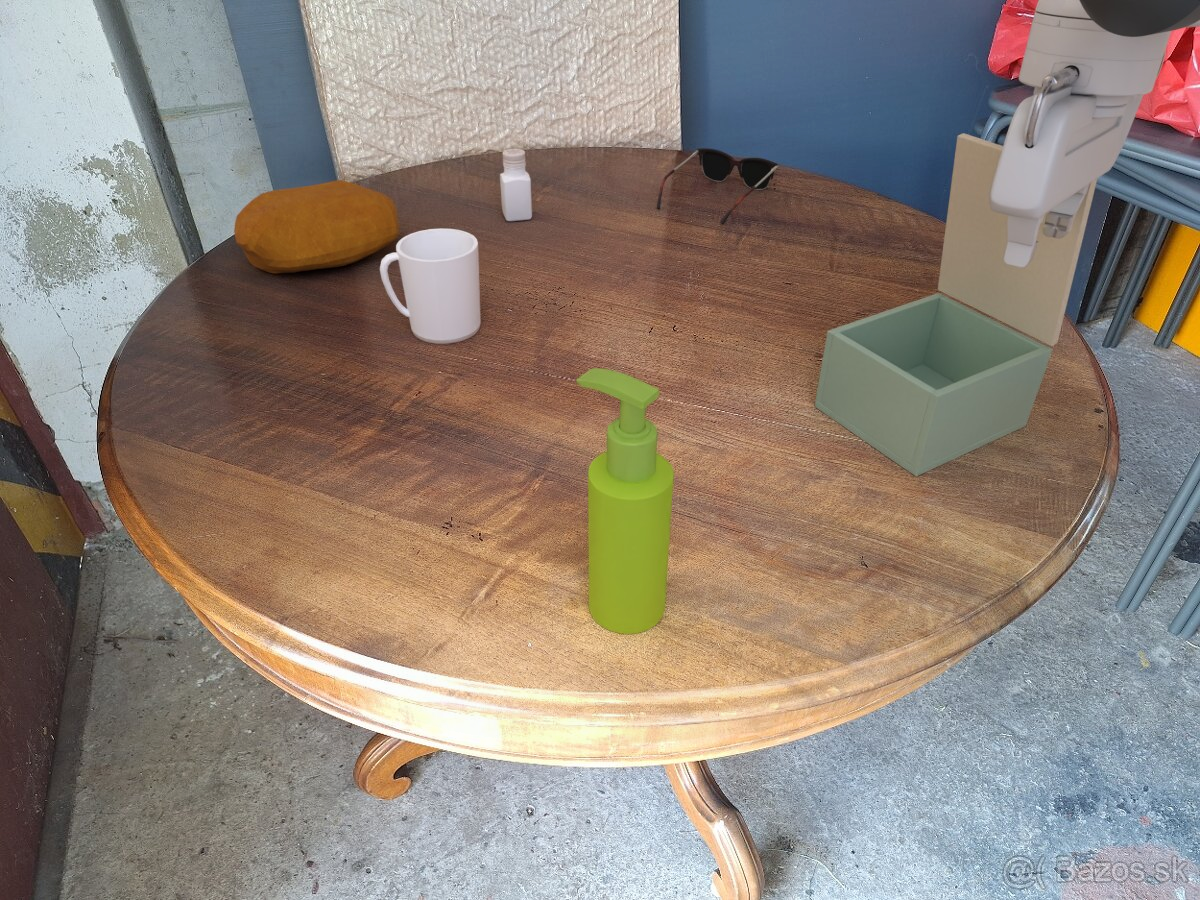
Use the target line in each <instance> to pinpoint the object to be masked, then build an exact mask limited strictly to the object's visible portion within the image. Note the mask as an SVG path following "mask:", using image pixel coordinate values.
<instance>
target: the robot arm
mask: <svg viewBox="0 0 1200 900" xmlns="http://www.w3.org/2000/svg"><path fill="white" fill-rule="evenodd" d="M1196 27H1200V0H1038V1H1037V4H1036V6H1035V11H1034V14H1033V18H1032V21H1031V25H1030V29H1029V33H1028V38H1027V42H1026V46H1025V51H1024V54H1023V59H1022V62H1021V67H1020V71H1019V73H1018V74H1019V75H1018V81H1019V82H1020V83H1022V84H1023V85H1025V86H1029V87H1032V88H1034V89H1033V93H1032V95H1031V96H1029V97H1026V98H1025V99H1023V100H1022V101H1021V102H1020V103H1019V104H1018V106H1017V108H1016V109H1015V111H1014V113H1013V116H1012V118H1011V121H1010V124H1009V126H1008V130H1007V132H1006V135H1005V139H1004V142H1003V145H1002V146H1003V148H1002V152H1001V155H1000V158H999V161H998V165H997V168H996V172H995V175H994V179H993V182H992V186H991V190H990V209H991V210H992V211H994V212H997V213H1001V214H1006V215H1008V219H1007V239H1008V242H1007V246H1006V250H1005V254H1004V262H1005V263H1006V264H1008V265H1013V266H1017V267H1025V266H1026V265H1027V264H1028V263H1030V262H1031V261H1032V260H1033V259H1034V256H1035V251H1036V249H1037V245H1038V241H1036V239H1037V234H1038V230H1039V225H1040V223H1042V221H1043V218H1044V215H1045V213H1047V212H1048V211H1050V212H1049V213H1048V214H1047V217H1046V220H1045V225H1044V227H1043V234H1044V235H1045V236H1048V237H1054V238H1058V239H1060V238H1062V237H1064V236H1066V235H1067V234H1068V233H1069V232H1070V230H1071V227H1072V224H1073V221H1074V217H1075V214H1076V213H1077V211H1078V209H1079V207H1080V205H1081V203H1082V201H1083V199H1084V197H1085V195H1086V193H1087V191H1088V187H1089V184H1090V183H1091V182H1093V181H1094V180H1096V179H1097V180H1098V179H1099V178H1100V177H1102V176H1103V175H1105V174H1107V173H1108V172H1109V171H1111V169H1112V168H1113V167H1114V165H1115V163H1116V162H1117V159H1118V157H1119V155H1120V154H1121V152H1122V150H1123V147H1124V145H1125V142H1126V140H1127V137H1128V135H1129V133H1130V131H1131V128H1132V125H1133V123H1134V120H1135V118H1136V116H1137V113H1138V110H1139V109H1140V105H1141V102H1142V100H1143V97H1144V95H1147V94H1150V93H1151V92H1152V91H1153V89H1154V87H1155V84H1156V80H1157V79H1158V76H1159V75H1160V73H1161V70H1162V67H1163V64H1164V61H1165V57H1166V49H1167V46H1168V43H1169V40H1170V37H1171V34H1172V31H1176V30H1177V31H1178V30H1180V29H1184V28H1196Z"/></svg>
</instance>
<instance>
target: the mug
mask: <svg viewBox="0 0 1200 900" xmlns="http://www.w3.org/2000/svg"><path fill="white" fill-rule="evenodd" d="M395 251H396V252H390V253H388V254H386V255H385V256H384V257H383V258H381V261H380V266H379V273H380V278H381V281H382V284H383V286H384V289H385V292H386V294H387V296H388V297H389V299H390V300H391V302H392V304H393V305H394V306H395V308H396V309H397V310H398V312H399V313H401V314H402V315H403V316H404V317H406V318H408V319H409V324H410V329H411V332H412V333H413V335H414V337H416V338H417V339H419V341H420V340H421V341H422V342H425V343H428V344H429V343H430V344H434V345H448V344H455V343H460V342H463V341H466V340H468V339H470V338H472V337H474V336H475V335H476V334H477V333H478V332H479V330H480V328H481V325H482V322H481V319H482V318H481V291H480V289H481V288H480V262H479V261H480V259H479V258H480V257H479V242H478V239H477V238H476V236H475V235H473V234H472V233H469V231H464V230H460V229H456V228H442V227H441V228H429V229H425V230H424V229H423V230H418V231H416V232H415V231H414V232H412V233H409V234H407V235H405V236H403V237H402V238H401V239H400V240H398V242H397V243H396V245H395ZM395 261H397V262H398V268H399V273H400V278H401V282H402V288H403V293H404V299H405V303H406V307H405V306H404V305H403V304H402V303H401V301H400V300H399V299H398V297H397V295H396V293H395V290H394V289H393V285H392V284H391V280H390V277H389V272H388V269H389V266H390V265H391V263H393V262H395Z"/></svg>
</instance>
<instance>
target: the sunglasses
mask: <svg viewBox="0 0 1200 900" xmlns="http://www.w3.org/2000/svg"><path fill="white" fill-rule="evenodd" d="M697 155H698V159H699V166H701V168H702V172H703V175H704V176H705V178H707V179H709V180H711V181H714V182H717V183H718V182H724V181H725V180H726V179H727V177H729V176H730V175H731V174H732V172H733V170H734V167H737V170H738V174H739V177H740V178H741V179H742V180H743V183H744V185H745V186H746V187H747V188H749V190H747V191H746V192H745V193H744V194H743V195H741V196H740V197H739V199H738V200H737V201H736V202H735V203H734V205H733V206H731V208H730V209H729V210H728V212H727V213H726V214H725V215H724V216H723V217H722V219H720V224H722V225H724V224H725V223H726V221H727V220H728V218H729V217H730V216H731V214H732V213H733V212H734V210H735V209H736V208H737V207H738V206H739V205H740V203H741V202H742V201H743V200H744V199H745V198H747V197H748V196H749V195H750V194H751V193H752V192H753V191H754V190H756V191H759V190H760V191H762V190H765V189H767V187H769V185H770V182H771V180H773V179H774V176H775V171H776V170H778V169H779V163H777V162H774V161H772V160H769V159H765V158H762V157H745V158H742V159H741V160H736V159H735V158H734V157H733V156H731V155H730V154H729V153H726V152H725V151H722V150H720V149H717V148H716V149H715V148H710V147H709V148H707V147H703V148H697V149H696V150H695V151H694V152H693V153H692V154H691V155H690V156H688V157H687V158H686V159H685V160H683V162H681V163H680V164H679V165H677V166H676V167H674V168H673V169H672V170H670V171H669V172H668V173H667V174H666V175H664V177H663V179H662V180H661V183H660V186H659V192H658V198H657V204H656V209H657V210H660V209H661V206H662V196H663V190H664V186H665V183H666V182H667V179H668V178H669V177H670V176H672V175H673V174H674V173H675V172H676V171H677V170H678V169H679V168H681V167H682V166H683V165H685V164H686V163H687V162H688V161H689V160H691V159H692V158H694V157H695V156H697Z"/></svg>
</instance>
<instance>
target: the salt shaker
mask: <svg viewBox="0 0 1200 900" xmlns="http://www.w3.org/2000/svg"><path fill="white" fill-rule="evenodd" d="M502 166H503V172H501V173H500V174H499V182H500V198H501V199H500V200H501V211H502V214H503V216H504V218H505V220H506V221H507V222H516V221H528V220H531V219H532V218H533V200H532V181H531V176H530V174H529V172H528V171H526V166H527V163H526V151H525V150H524V149H522V148H507V149H504V150H503V151H502Z"/></svg>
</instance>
